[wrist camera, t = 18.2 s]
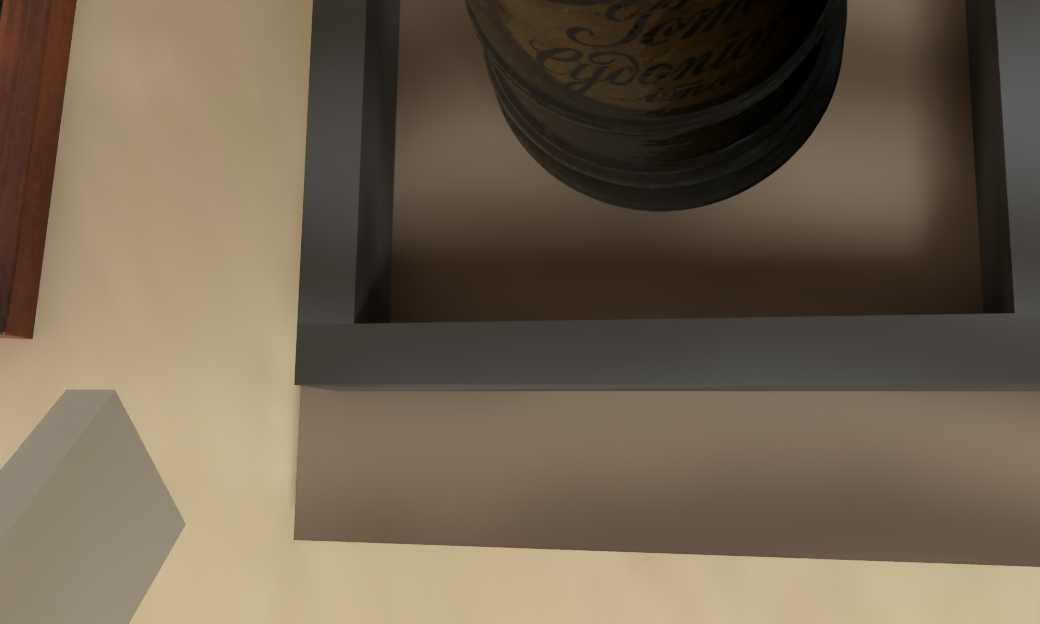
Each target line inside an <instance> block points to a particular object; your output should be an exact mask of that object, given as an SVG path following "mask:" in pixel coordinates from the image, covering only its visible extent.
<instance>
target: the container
mask: <svg viewBox="0 0 1040 624" xmlns="http://www.w3.org/2000/svg"><path fill="white" fill-rule="evenodd" d="M464 1H465V5H466V9H467V12H468V15H469V18H470V22H471V24H472V27H473V29H474V32H475V34H476V36H477V38H478V40H479V42H480V44H481V47H482V53H483V58H484V62H485V66H486V69H487V73H488V76H489V79H490V82H491V84H492V86H493V88H494V90H495V94H496V97H497V100H498V103H499V106H500V108H501V110H502V113H503V115H504V117H505V119H506V121H507V123H508V125H509V126H510V128H511V130H512V132H513V133H514V135H515V136H516V138H517V139H518V140H519V142H520V143H521V145H522V146H523V147H524V148H525V150H526V151H527V152H528V153H529V154H530V155H531V156H532V157H533V158H534V159H535V161H536V162H537V163H538V164H540V165H541V166H542V167H543V168H544V169H545V170H546V171H548V172H549V173H550V174H551V175H552V176H554V177H555V178H556V179H558V180H559V181H561V182H562V183H564V184H565V185H567V186H568V187H570V188H572V189H574V190H575V191H577V192H579V193H582V194H584V195H586V196H588V197H591V198H593V199H596V200H598V201H601V202H604V203H607V204H610V205H614V206H618V207H623V208H628V209H634V210H641V211H655V212H663V211H679V210H686V209H693V208H698V207H702V206H706V205H709V204H713V203H717V202H720V201H723V200H726V199H728V198H731V197H733V196H735V195H738V194H740V193H742V192H744V191H746V190H748V189H750V188H751V187H753V186H755V185H757V184H758V183H760V182H761V181H763V180H764V179H766V178H767V177H769V176H770V175H772V174H773V173H774V172H776V171H777V170H778V169H779V168H780V167H782V166H783V165H784V164H785V163H786V162H787V161H788V160H789V159H790V158H791V157H792V156H793V155H794V154H795V153H796V152H797V151H798V150H799V149H800V148H801V147H802V146H803V145H804V143H805V142H806V141H807V140H808V138H809V137H810V136H811V134H812V133H813V132H814V130H815V129H816V127H817V126H818V124H819V122H820V121H821V119H822V117H823V115H824V114H825V112H826V110H827V108H828V106H829V104H830V101H831V99H832V97H833V94H834V91H835V88H836V85H837V82H838V78H839V74H840V69H841V64H842V58H843V49H844V38H845V31H846V23H847V0H464Z"/></svg>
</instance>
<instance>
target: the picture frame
mask: <svg viewBox="0 0 1040 624" xmlns="http://www.w3.org/2000/svg"><path fill="white" fill-rule="evenodd" d="M76 1H77V0H0V338H19V339H33V331H34V323H35V316H36V308H37V300H38V293H39V285H40V277H41V270H42V262H43V254H44V247H45V239H46V231H47V223H48V216H49V208H50V200H51V193H52V185H53V177H54V170H55V162H56V154H57V147H58V139H59V131H60V124H61V116H62V108H63V100H64V93H65V85H66V77H67V70H68V62H69V54H70V47H71V39H72V31H73V24H74V16H75V8H76Z"/></svg>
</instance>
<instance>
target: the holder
mask: <svg viewBox="0 0 1040 624" xmlns="http://www.w3.org/2000/svg"><path fill="white" fill-rule="evenodd" d="M294 385H300V386H301V400H300V421H299V442H298V463H297V484H296V505H295V526H294V540H312V541H340V542H367V543H395V544H423V545H450V546H478V547H506V548H534V549H561V550H589V551H617V552H645V553H672V554H700V555H728V556H756V557H783V558H811V559H839V560H867V561H894V562H922V563H950V564H978V565H1005V566H1033V567H1040V0H847V23H846V31H845V38H844V49H843V58H842V64H841V69H840V74H839V78H838V82H837V85H836V88H835V91H834V94H833V97H832V99H831V101H830V104H829V106H828V108H827V110H826V112H825V114H824V115H823V117H822V119H821V121H820V122H819V124H818V126H817V127H816V129H815V130H814V132H813V133H812V134H811V136H810V137H809V138H808V140H807V141H806V142H805V143H804V145H803V146H802V147H801V148H800V149H799V150H798V151H797V152H796V153H795V154H794V155H793V156H792V157H791V158H790V159H789V160H788V161H787V162H786V163H785V164H784V165H783V166H782V167H780V168H779V169H778V170H777V171H776V172H774V173H773V174H772V175H770V176H769V177H767V178H766V179H764V180H763V181H761V182H760V183H758V184H757V185H755V186H753V187H751V188H750V189H748V190H746V191H744V192H742V193H740V194H738V195H735V196H733V197H731V198H728V199H726V200H723V201H720V202H717V203H713V204H709V205H706V206H702V207H698V208H693V209H686V210H679V211H663V212H655V211H641V210H634V209H628V208H623V207H618V206H614V205H610V204H607V203H604V202H601V201H598V200H596V199H593V198H591V197H588V196H586V195H584V194H582V193H579V192H577V191H575V190H574V189H572V188H570V187H568V186H567V185H565V184H564V183H562V182H561V181H559V180H558V179H556V178H555V177H554V176H552V175H551V174H550V173H549V172H548V171H546V170H545V169H544V168H543V167H542V166H541V165H540V164H538V163H537V162H536V161H535V159H534V158H533V157H532V156H531V155H530V154H529V153H528V152H527V151H526V150H525V148H524V147H523V146H522V145H521V143H520V142H519V140H518V139H517V138H516V136H515V135H514V133H513V132H512V130H511V128H510V126H509V125H508V123H507V121H506V119H505V117H504V115H503V113H502V110H501V108H500V106H499V103H498V100H497V97H496V94H495V90H494V88H493V86H492V84H491V82H490V79H489V76H488V73H487V69H486V66H485V62H484V58H483V53H482V47H481V44H480V42H479V40H478V38H477V36H476V34H475V32H474V29H473V27H472V24H471V22H470V18H469V15H468V12H467V9H466V5H465V1H464V0H313V14H312V34H311V55H310V75H309V96H308V116H307V137H306V158H305V178H304V199H303V219H302V240H301V260H300V281H299V301H298V322H297V342H296V363H295V384H294Z"/></svg>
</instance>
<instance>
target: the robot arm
mask: <svg viewBox="0 0 1040 624" xmlns="http://www.w3.org/2000/svg"><path fill="white" fill-rule="evenodd" d="M185 525H186V524H185V522H184V520H183V518H182V516H181V515H180V513H179V511H178V509H177V507H176V505H175V503H174V501H173V499H172V497H171V496H170V494H169V492H168V490H167V488H166V486H165V484H164V482H163V480H162V478H161V477H160V475H159V473H158V471H157V469H156V467H155V465H154V463H153V461H152V459H151V458H150V456H149V454H148V452H147V450H146V448H145V446H144V444H143V442H142V440H141V439H140V437H139V435H138V433H137V431H136V429H135V427H134V425H133V423H132V421H131V420H130V418H129V416H128V414H127V412H126V410H125V408H124V406H123V404H122V402H121V401H120V399H119V397H118V395H117V393H116V391H115V390H66V391H65V392H64V393H63V395H62V396H61V397H60V398H59V400H58V401H57V402H56V403H55V404H54V406H53V407H52V408H51V409H50V411H49V412H48V413H47V414H46V415H45V417H44V418H43V419H42V420H41V422H40V423H39V424H38V425H37V426H36V428H35V429H34V430H33V431H32V433H31V434H30V435H29V436H28V437H27V439H26V440H25V441H24V442H23V444H22V445H21V446H20V447H19V448H18V450H17V451H16V452H15V453H14V455H13V456H12V457H11V458H10V459H9V461H8V462H7V463H6V464H5V466H4V467H3V468H2V469H1V470H0V624H129V622H130V620H131V619H132V617H133V615H134V613H135V612H136V610H137V608H138V606H139V605H140V603H141V601H142V600H143V598H144V596H145V594H146V593H147V591H148V589H149V587H150V586H151V584H152V582H153V580H154V579H155V577H156V575H157V573H158V572H159V570H160V568H161V566H162V565H163V563H164V561H165V559H166V558H167V556H168V554H169V552H170V551H171V549H172V547H173V545H174V544H175V542H176V540H177V539H178V537H179V535H180V533H181V532H182V530H183V528H184V526H185Z"/></svg>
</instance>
